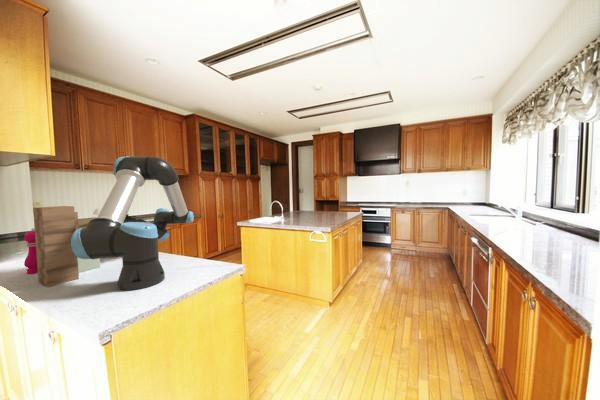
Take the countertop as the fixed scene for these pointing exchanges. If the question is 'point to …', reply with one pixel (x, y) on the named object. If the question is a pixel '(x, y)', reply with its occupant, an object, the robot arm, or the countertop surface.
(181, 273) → the countertop surface
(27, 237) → the pepper mill
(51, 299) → the countertop surface
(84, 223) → the tan tall block
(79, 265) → the sage box
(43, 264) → the walnut post
